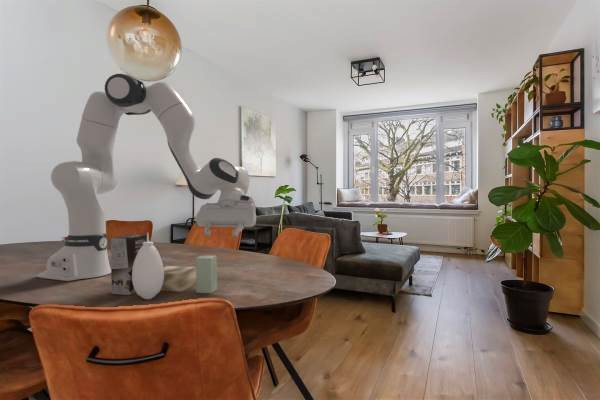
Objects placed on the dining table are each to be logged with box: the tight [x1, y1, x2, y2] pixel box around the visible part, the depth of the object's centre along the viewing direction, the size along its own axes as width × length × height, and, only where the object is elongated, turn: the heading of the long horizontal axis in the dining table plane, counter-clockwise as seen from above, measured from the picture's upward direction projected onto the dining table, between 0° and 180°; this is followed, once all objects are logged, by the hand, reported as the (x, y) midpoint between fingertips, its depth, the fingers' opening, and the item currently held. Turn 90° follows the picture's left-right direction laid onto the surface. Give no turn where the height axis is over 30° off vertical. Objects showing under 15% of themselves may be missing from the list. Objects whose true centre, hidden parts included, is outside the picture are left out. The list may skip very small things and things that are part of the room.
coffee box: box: [110, 233, 147, 296], centre depth 102 cm, size 9×6×16 cm
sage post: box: [195, 254, 218, 294], centre depth 102 cm, size 4×4×10 cm
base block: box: [160, 265, 196, 292], centre depth 107 cm, size 10×10×5 cm
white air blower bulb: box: [132, 232, 164, 300], centre depth 94 cm, size 8×8×18 cm
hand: (220, 234), depth 113 cm, fingers open, 8 cm apart
